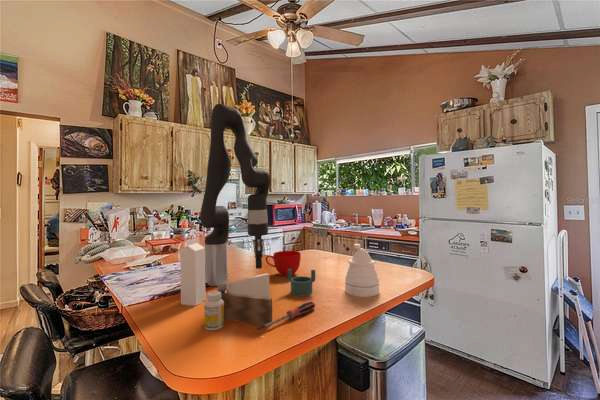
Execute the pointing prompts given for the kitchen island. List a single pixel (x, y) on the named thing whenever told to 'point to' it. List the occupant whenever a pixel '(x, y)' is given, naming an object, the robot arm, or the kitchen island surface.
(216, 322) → the supplement bottle
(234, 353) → the kitchen island surface
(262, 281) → the cream flat slab
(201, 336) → the kitchen island surface
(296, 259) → the ceramic cup
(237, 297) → the brown rectangular block
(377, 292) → the honey pot
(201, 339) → the kitchen island surface
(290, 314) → the screwdriver
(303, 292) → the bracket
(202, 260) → the milk
